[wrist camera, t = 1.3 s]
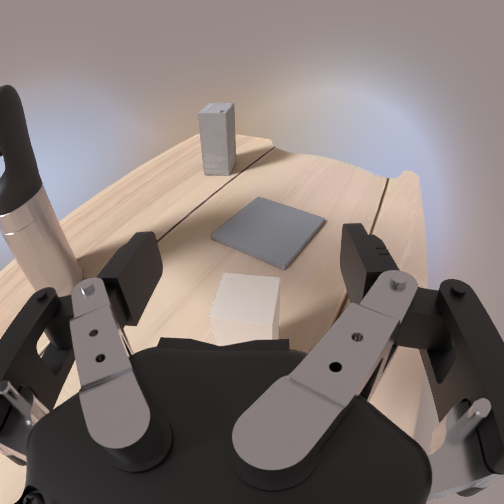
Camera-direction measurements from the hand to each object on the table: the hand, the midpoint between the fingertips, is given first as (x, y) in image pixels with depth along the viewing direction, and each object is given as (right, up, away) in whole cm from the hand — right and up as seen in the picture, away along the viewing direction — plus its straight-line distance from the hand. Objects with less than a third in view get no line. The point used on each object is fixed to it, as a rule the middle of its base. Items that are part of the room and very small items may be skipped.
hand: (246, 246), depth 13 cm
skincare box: (-7, +20, +58) cm, 62 cm away
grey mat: (+3, +4, +38) cm, 39 cm away
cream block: (0, -13, +20) cm, 24 cm away
